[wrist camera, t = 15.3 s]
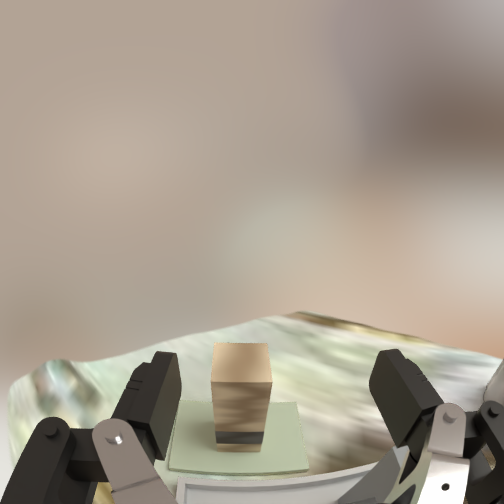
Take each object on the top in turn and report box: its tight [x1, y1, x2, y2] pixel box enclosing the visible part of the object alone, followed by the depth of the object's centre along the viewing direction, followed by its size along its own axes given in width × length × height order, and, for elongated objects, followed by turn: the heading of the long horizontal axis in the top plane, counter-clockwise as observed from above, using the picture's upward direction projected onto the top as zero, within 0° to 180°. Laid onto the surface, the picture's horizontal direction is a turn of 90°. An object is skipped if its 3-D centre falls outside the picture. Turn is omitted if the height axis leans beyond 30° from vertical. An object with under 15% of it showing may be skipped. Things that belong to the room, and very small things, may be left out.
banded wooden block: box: [211, 343, 272, 452], centre depth 25 cm, size 5×5×14 cm
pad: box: [169, 400, 309, 476], centre depth 28 cm, size 16×11×1 cm
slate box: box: [338, 446, 409, 504], centre depth 14 cm, size 5×5×14 cm
